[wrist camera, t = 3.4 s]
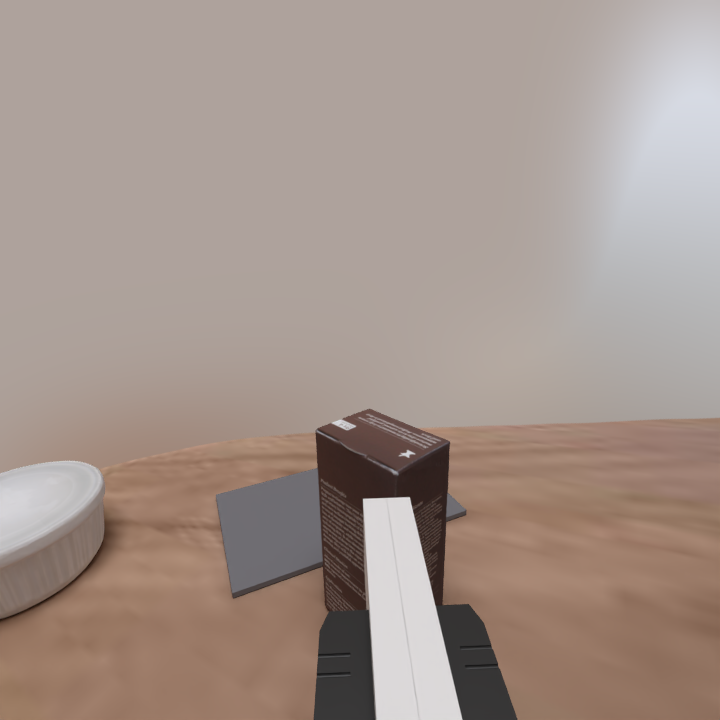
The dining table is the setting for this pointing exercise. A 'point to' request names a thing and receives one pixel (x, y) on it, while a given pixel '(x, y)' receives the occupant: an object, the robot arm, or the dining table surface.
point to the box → (377, 496)
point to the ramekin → (47, 529)
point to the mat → (277, 530)
